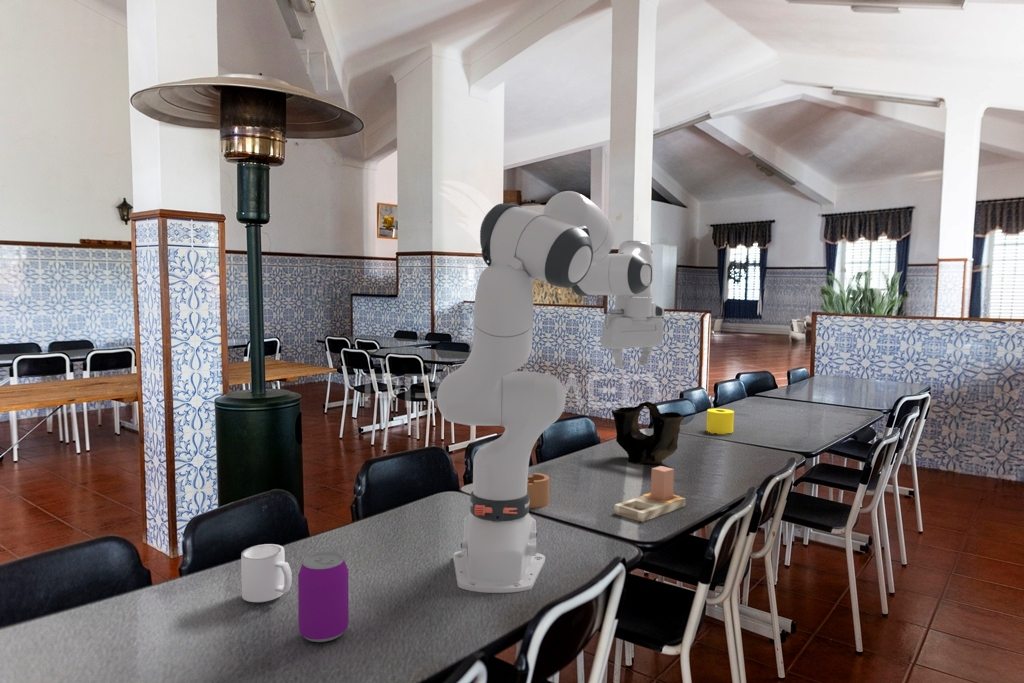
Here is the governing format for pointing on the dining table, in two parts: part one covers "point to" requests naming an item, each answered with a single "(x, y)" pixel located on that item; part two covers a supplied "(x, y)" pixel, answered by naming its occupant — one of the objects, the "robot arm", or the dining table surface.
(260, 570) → the mug
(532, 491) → the bracket
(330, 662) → the dining table surface
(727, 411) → the tape roll
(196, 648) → the dining table surface
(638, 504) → the peg board
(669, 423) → the pottery vessel
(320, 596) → the beverage can
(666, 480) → the terracotta peg
